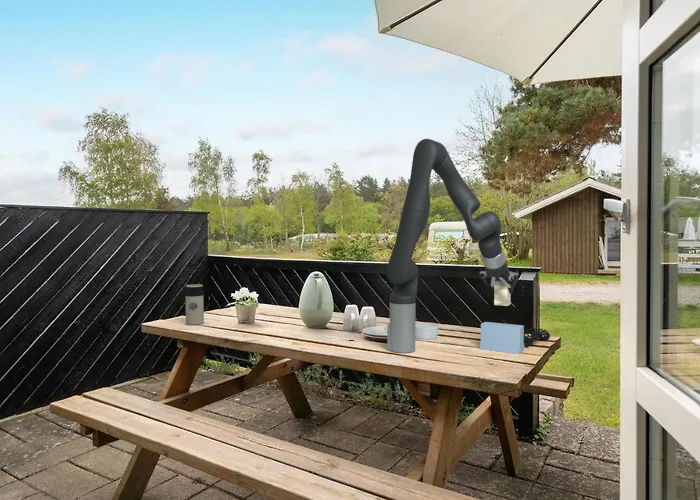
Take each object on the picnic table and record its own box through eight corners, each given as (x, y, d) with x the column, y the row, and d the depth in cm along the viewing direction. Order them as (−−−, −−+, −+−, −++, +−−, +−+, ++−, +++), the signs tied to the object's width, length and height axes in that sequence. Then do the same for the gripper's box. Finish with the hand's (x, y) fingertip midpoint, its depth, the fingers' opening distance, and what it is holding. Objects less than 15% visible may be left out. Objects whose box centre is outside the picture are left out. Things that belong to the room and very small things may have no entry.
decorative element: (539, 338, 201) (539, 323, 201) (552, 340, 197) (552, 325, 197) (512, 347, 185) (512, 332, 185) (525, 350, 182) (525, 333, 181)
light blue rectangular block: (479, 348, 182) (479, 324, 182) (485, 345, 188) (485, 321, 188) (519, 354, 175) (519, 328, 174) (524, 349, 180) (524, 325, 180)
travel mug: (190, 321, 238) (190, 284, 237) (206, 322, 236) (206, 284, 236) (182, 325, 230) (182, 286, 229) (199, 325, 229) (198, 286, 228)
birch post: (494, 305, 180) (494, 274, 179) (497, 303, 184) (498, 273, 183) (507, 305, 177) (507, 274, 177) (510, 304, 181) (510, 274, 181)
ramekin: (405, 337, 202) (405, 324, 201) (421, 333, 210) (421, 321, 210) (428, 342, 194) (428, 328, 194) (444, 337, 202) (444, 324, 202)
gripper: (517, 252, 170) (526, 284, 180) (476, 251, 177) (486, 282, 188) (513, 268, 165) (522, 301, 176) (471, 267, 173) (482, 298, 184)
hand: (503, 291), depth 182 cm, fingers closed on birch post, 4 cm apart
